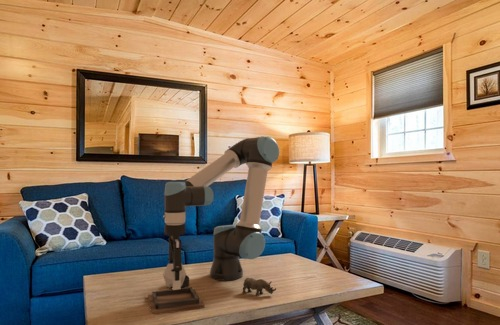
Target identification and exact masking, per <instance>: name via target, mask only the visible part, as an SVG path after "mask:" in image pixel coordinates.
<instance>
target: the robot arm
mask: <svg viewBox="0 0 500 325" xmlns="http://www.w3.org/2000/svg"><path fill="white" fill-rule="evenodd" d="M279 156H280V146H279V144H278V143H277V141H276V140H275V139H274V138H273V137H271V136H263V135H262V136H258V137H247V138H244V139H242V140H239V141H238V142H236V143H235V144H233V145H232V146H230V147H229V148H227V149H226V150H225V151H224V153H223V154H222V155H221V156H220V157H218V158H217V159H214V161H213V162H211V163H209V164H208V165H207V166H206V167H204V168H202V169H201V170H199V171H198V172H196V173H195V174H194V175H192V176H191V177H190V178H188V179H187V180H184V181H167V182H166V183H165V185H164V186H165V187H164V194H163V195H164V215H163V216H162V218H163V219H164V223H165V224H164V230H163V231H164V232H163V233H164V235H165V236H168V264H173V269H172V270H171V272H173V290H177V289H181V270H182V265H183V263H182V239H180V236H182V235H185V234H186V224H185V223H186V208H187V207H200V206H201V207H204V206H209V205H211V204H212V203H213V201H214V191H213V189H212V188H211V185H212V184H214V183H215V182H216V181H217V180H218V179H220V178H221V177H223V176H224V175H225V174H227V173H228V172H229V171H231V170H232V169H233V168H234V169H237V168H239V167H240V166H242V165H246V166H247V167H248V170H247V172H248V173H247V177H246V182H245V183H246V184H245V188H244V189H245V190H244V195H243V201H242V207H241V210H240V211H241V212H240V218H239V221H238V222H237V223H235V224H227V225H218V226H216V227H214V228H213V234H212V235H213V236H212V237H213V260H212V263H211V267H210V271H209V277H210V278H211V279H213V280H217V281H233V280H234V281H235V280H238V279H240V278H242V277H243V276H244V271H243V270H244V269H243V267H242V263H241V260H240V258H242V259H245V260H256V259H257V258H259V257H260V256H261V255H262V254H263V252H264V250H265V247H266V239H265V236H264V235H263V234H262V229H263V228H262V227H261V225H260V222H261V214H262V207H263V203H264V196H265V190H266V183H267V178H268V171H270V170H271V169H272V168H273V163H275V162H276V161H277V160H278V159H279Z"/></svg>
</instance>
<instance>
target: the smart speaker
mask: <svg viewBox="0 0 500 325" xmlns="http://www.w3.org/2000/svg"><path fill="white" fill-rule="evenodd" d="M189 286H190V277H189V275H187V274H186V276H185V279H184V282H183V284H182V286H181V288H185V287H186V288H188V287H189ZM171 288H173V287H170V288H169V289H171Z"/></svg>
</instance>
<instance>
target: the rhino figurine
mask: <svg viewBox="0 0 500 325" xmlns="http://www.w3.org/2000/svg"><path fill="white" fill-rule="evenodd" d="M271 284H272V281H270V282H267V281H266V280H265V279H262V278H261V279H259V278H258V279H255V278H252V277H246V278H245V279H244V282H243V284H242V285H243V287H242V291H241V292H242V294H247V293H252V292H253V291H256V293H255V296H260V295H263V294H264V292H263V290H265V292H267V293H269V294H271V295H272V294H273V293H274V292H275V291H276V290H277V288H276V287H275V288H274V287H271ZM246 289H247V291H246Z"/></svg>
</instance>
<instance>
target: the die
mask: <svg viewBox="0 0 500 325" xmlns="http://www.w3.org/2000/svg"><path fill="white" fill-rule="evenodd" d="M172 269H173V264H170V263H167V265H166V267H165V269H164V272H163V274H162V276H163V279H164V282H165V284H166V287H167V288H169V287H173V272H171V270H172ZM186 275H187V272H186V270H185V268H184V265H183V264H182V270H181V286H182V284H183V282H184V279H185V276H186Z"/></svg>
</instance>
